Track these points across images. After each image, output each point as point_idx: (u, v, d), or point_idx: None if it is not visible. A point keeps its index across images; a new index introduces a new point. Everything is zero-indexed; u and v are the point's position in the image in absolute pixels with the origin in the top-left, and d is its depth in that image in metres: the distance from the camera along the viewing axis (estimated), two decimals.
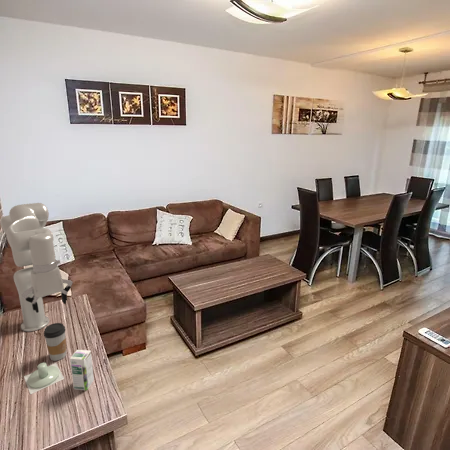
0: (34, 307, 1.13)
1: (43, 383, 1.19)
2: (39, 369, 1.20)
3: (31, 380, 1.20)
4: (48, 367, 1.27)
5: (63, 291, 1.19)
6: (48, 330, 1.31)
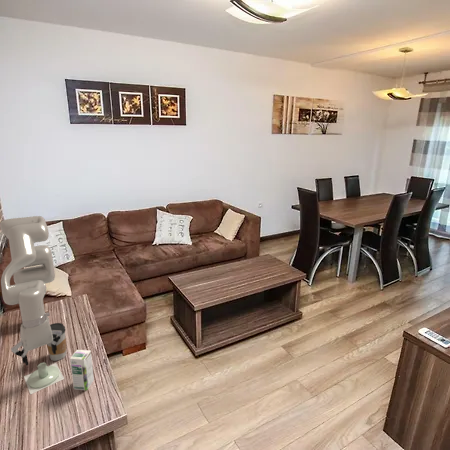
0: (24, 360, 1.16)
1: (43, 383, 1.19)
2: (39, 369, 1.20)
3: (31, 380, 1.20)
4: (48, 367, 1.27)
5: (53, 342, 1.21)
6: None
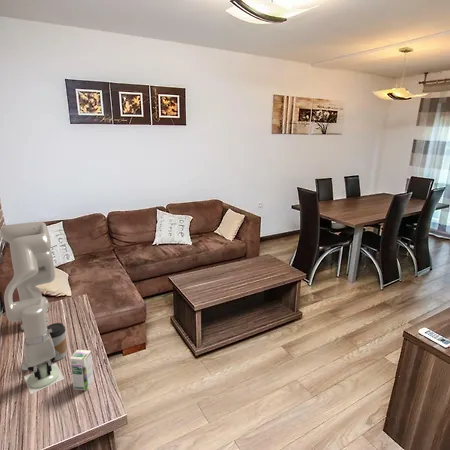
0: (36, 375, 1.20)
1: (43, 383, 1.19)
2: (39, 369, 1.20)
3: (31, 380, 1.20)
4: None
5: (49, 362, 1.22)
6: None
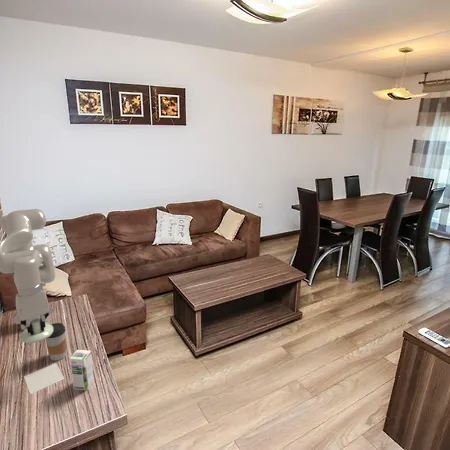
0: (29, 330, 1.15)
1: (36, 338, 1.14)
2: (32, 324, 1.15)
3: (24, 336, 1.15)
4: None
5: (43, 317, 1.17)
6: None
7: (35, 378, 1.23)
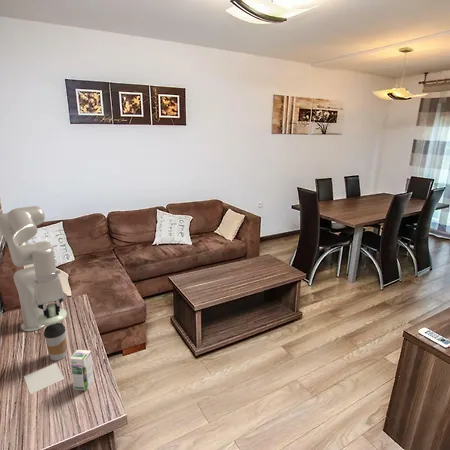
0: (45, 313, 1.27)
1: (52, 321, 1.26)
2: (48, 308, 1.27)
3: (41, 319, 1.27)
4: None
5: (57, 302, 1.29)
6: (48, 330, 1.31)
7: (35, 378, 1.23)
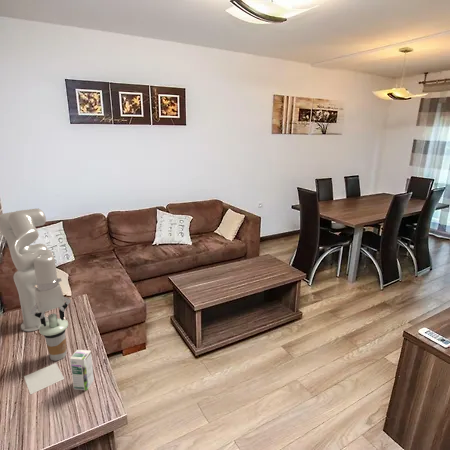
0: (42, 321, 1.27)
1: (53, 331, 1.28)
2: (50, 319, 1.29)
3: (42, 329, 1.29)
4: (58, 319, 1.36)
5: (61, 308, 1.31)
6: None
7: (35, 378, 1.23)
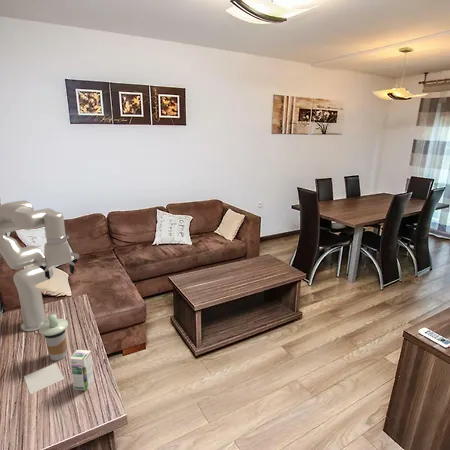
0: (46, 274, 1.33)
1: (53, 331, 1.27)
2: (50, 319, 1.29)
3: (42, 329, 1.29)
4: (58, 319, 1.36)
5: (71, 262, 1.38)
6: None
7: (35, 378, 1.23)
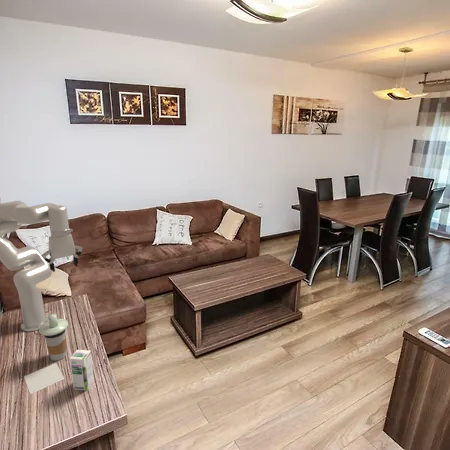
0: (51, 267, 1.36)
1: (53, 331, 1.27)
2: (50, 319, 1.29)
3: (42, 329, 1.29)
4: (58, 319, 1.36)
5: (75, 255, 1.42)
6: None
7: (35, 378, 1.23)
